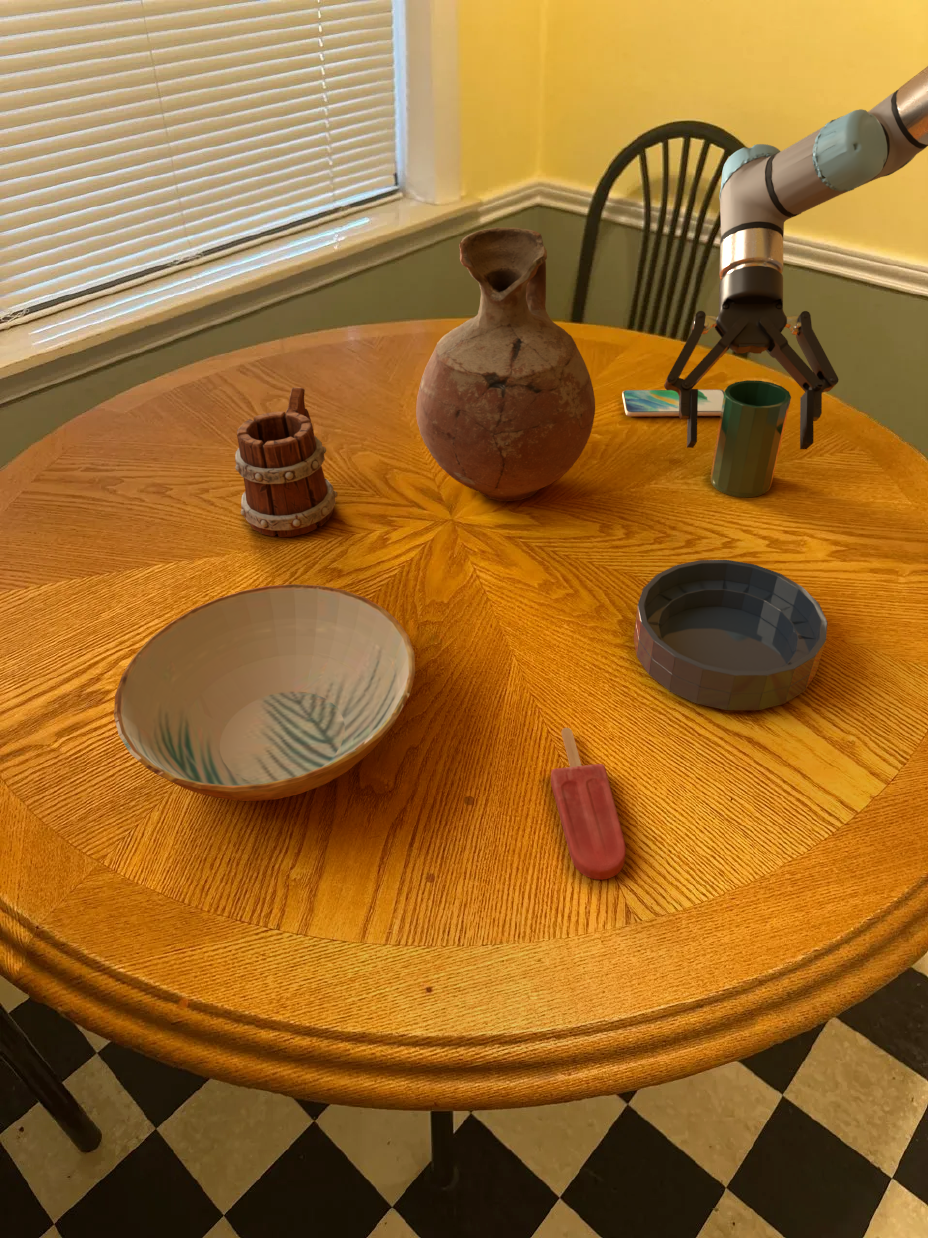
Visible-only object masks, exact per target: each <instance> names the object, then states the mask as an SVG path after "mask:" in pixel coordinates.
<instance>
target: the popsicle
mask: <svg viewBox="0 0 928 1238" xmlns="http://www.w3.org/2000/svg"><path fill="white" fill-rule="evenodd" d="M561 737H562V740H563V741H562V742H563V745H564V749H565V752H566V753H565V754H566V756H567V760H568V764H569V767H567V766H566V767H560V768H559V767H558V768H553V769H552V770H551V772H550V785H551V789H552V792H553V796H554V800H555V804H556V807H557V811H558V815H559V818H560V822H561V823H560V824H561V826H562V830H563V833H564V837H565V842H566V845H567V849H568V852H569V855H570V859H571V862H572V864H573V866H574V867H575V869H576V871H578V872H579V873H580V874H582V875H583V876H585V877H588V878H589V879H592V880H593V879H594V880H608V879H611V878H613V877H615V876H617V875H618V874H619V873H620V872H621V871H622V870H623V868H624V865H625V862H626V855H627V847H626V841H625V837H624V833H623V829H622V826H621V821H620V818H619V815H618V811H617V807H616V802H615V799H614V796H613V792H612V789H611V785H610V781H609V777H608V773H607V769H606V766H605V764H603V763H597V764H596V763H595V764H587V765H586V764H585V765H583V764H582V762H581V758H580V755H579V754H580V753H579V751H578V747H577V744H576V740H575V735H574V733H573V730H572V729H571V728H570V727H563V728H562V729H561Z"/></svg>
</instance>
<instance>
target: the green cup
mask: <svg viewBox="0 0 928 1238" xmlns="http://www.w3.org/2000/svg"><path fill="white" fill-rule="evenodd" d="M791 399H792V396H791V393H790V391H789V390H788V389H786V388H785V387H783V386H782V385H779V384H777V383H773V382H770V381H766V380H765V381H764V380H758V379H757V380H755V379H754V380H749V379H747V380H740V381H735V382H734V383H731V384H729V385H727V386H726V388H725V389H724V398H723V404H722V410H721V416H719V423H718V429H717V435H716V440H715V446H714V451H713V452H714V453H713V459H712V463H711V470H710V484H711V486H713V488H714V489H716V490H717V491H718V492H721V493H722V494H725V495H727V496H732V497H734V498H735V497H736V498H757V497H759V496H762V495H764V494H766V493H767V492H769V490H770V489H771V487H772V483H773V481H774V477H775V476H774V475H775V471H776V467H777V462H778V457H779V453H780V449H781V445H782V440H783V435H784V430H785V427H786V421H787V418H788V413H789V408H790V404H791Z"/></svg>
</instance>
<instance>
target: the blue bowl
mask: <svg viewBox="0 0 928 1238" xmlns="http://www.w3.org/2000/svg"><path fill="white" fill-rule="evenodd" d="M634 623H635V624H634V633H633V643H634V648H635V654H636V658H637V659H638V661H639V662H640V664H641V666H642V667H643V668H644V670H645V671H646V673H647V675H648V676H650V677H651V678H652V679H653V680H655V681H656V682H657V683H658V684H660V685H661V686H662V687H664V688H665V689H666V690H667V691H669V692H670V693H672V694H674V695H677V696H679V697H680V698H683V699H685V700H687V701H689V702H691V703H694V704H697V705H700V706H706V707H710V708H715V709H720V710H725V711H761V710H765V709H768V708H772V707H777V706H781V705H784V704H786V703H788V702H790V701H791V700H793V699H794V698H796V697H798V696H799V695H800V694H803V693H804V692H805V691H806V690H807V689H808V687H809V686H810V684H811V682H812V681H813V679H815V677H816V674H817V673H818V669H819V665H820V663H821V659H822V655H823V652H824V649H825V646H826V643H827V637H828V636H827V635H828V620H827V618H826V615H825V613H824V611H823V608H822V606H821V605H820V603H819V601H817V599H815V597H814V596H813V595H811V593H809V592H808V590H807V589H805V587H804V586H803V585H801V584H799V583H797V582H796V581H794V580H792V579H791V578H789V577H787V576H785V575H784V574H782V573H780V572H777V571H775V570H772V569H769V568H766V567H763V566H761V565H757V564H755V563H750V562H749V563H748V562H744V561H736V560H733V559H698V560H694V561H689V562H684V563H679V564H675V565H673V566H671V567H669V568H666V569H665V570H662V571H661V572H658V573H656V575H654V576H653V578H652V579H651V580H649V582H648V583H647V584H645V586H643V588H642V589H641V592H640V596H639V599H638V602H637V607H636V616H635V622H634Z"/></svg>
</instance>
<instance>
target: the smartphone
mask: <svg viewBox="0 0 928 1238" xmlns="http://www.w3.org/2000/svg"><path fill="white" fill-rule="evenodd" d="M724 392H725V390H723V389H717V388H716V389H715V388H714V389H698V415H697V417H720V416H721V410H722V404H723V398H724ZM621 396H622V402H623V407H624V408H623V409H624V413H625V415H626V416H627V417H679V395H678V393H677V392H676V391H673V390H666V389H626V390H623V391H622V393H621Z"/></svg>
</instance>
